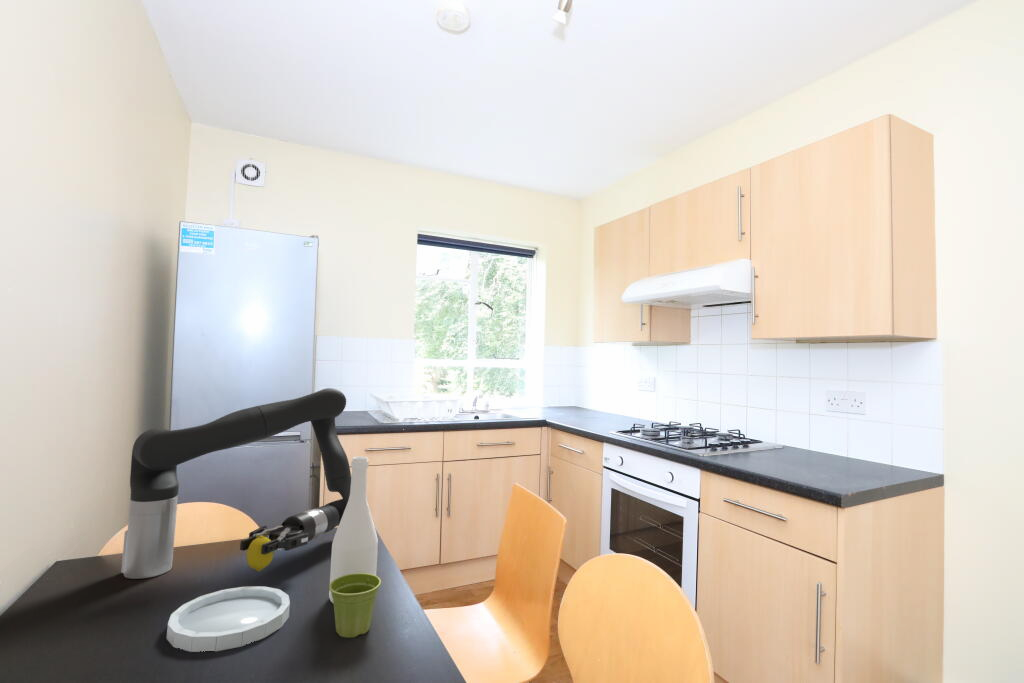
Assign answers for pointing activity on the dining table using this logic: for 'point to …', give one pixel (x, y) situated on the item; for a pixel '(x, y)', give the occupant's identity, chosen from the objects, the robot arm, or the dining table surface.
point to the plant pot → (354, 602)
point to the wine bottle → (355, 530)
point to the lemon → (258, 554)
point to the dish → (228, 618)
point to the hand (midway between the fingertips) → (252, 547)
